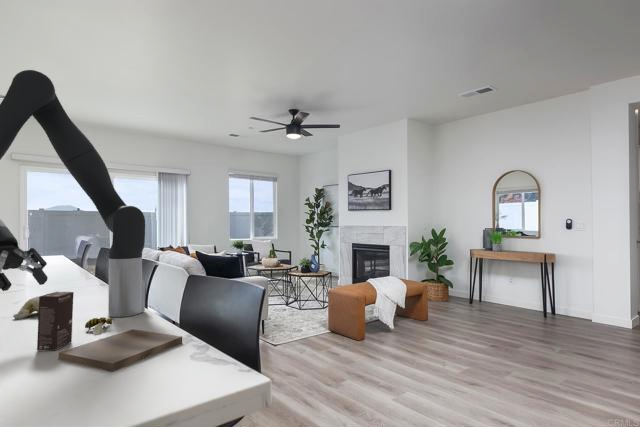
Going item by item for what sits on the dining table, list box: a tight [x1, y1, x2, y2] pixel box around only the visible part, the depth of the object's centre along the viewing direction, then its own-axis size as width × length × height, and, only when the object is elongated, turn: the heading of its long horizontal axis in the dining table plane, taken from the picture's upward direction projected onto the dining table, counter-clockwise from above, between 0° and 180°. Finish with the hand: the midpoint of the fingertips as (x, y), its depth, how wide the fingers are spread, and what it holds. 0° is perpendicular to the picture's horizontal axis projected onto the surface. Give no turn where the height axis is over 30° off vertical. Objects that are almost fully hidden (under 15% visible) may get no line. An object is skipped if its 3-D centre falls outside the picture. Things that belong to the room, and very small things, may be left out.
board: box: [57, 328, 183, 372], centre depth 83 cm, size 18×16×2 cm
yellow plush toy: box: [12, 295, 41, 320], centre depth 117 cm, size 10×6×15 cm
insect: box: [84, 316, 117, 336], centre depth 99 cm, size 11×6×5 cm, turn 17°
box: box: [36, 291, 75, 352], centre depth 86 cm, size 6×4×12 cm
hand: (27, 285), depth 88 cm, fingers open, 8 cm apart
